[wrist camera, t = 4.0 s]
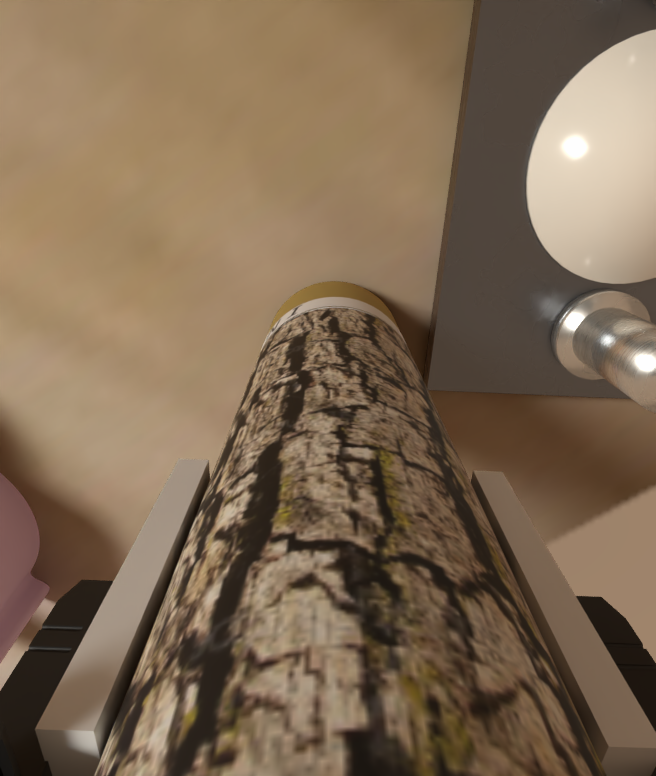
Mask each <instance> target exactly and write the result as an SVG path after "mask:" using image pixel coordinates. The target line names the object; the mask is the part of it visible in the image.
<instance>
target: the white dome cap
mask: <svg viewBox="0 0 656 776" xmlns="http://www.w3.org/2000/svg"><path fill="white" fill-rule="evenodd" d="M526 202H527V210H528V214H529V218H530V222H531V225H532V227H533V229H534V232H535V234H536V236H537V238H538V240H539V241H540V243H541V245H542V246H543V248H544V249H545V250H546V252H547V253H548V254H549V255H550V256H551V258H553V259H554V260H555V261H556V262H557V263H558V264H560V265H561V266H562V267H564V268H565V269H567V270H568V271H570V272H572V273H574V274H576V275H578V276H581V277H583V278H586V279H589V280H593V281H596V282H601V283H610V284H627V283H634V282H641V281H645V280H648V279H652V278H656V30H651V31H648V32H645V33H641V34H638V35H635V36H633V37H631V38H628V39H626V40H624V41H622V42H620V43H618V44H616V45H614V46H612V47H610V48H609V49H607V50H606V51H604V52H602V53H601V54H599V55H598V56H596V57H595V58H594V59H593V60H591V61H590V62H589V63H588V64H586V65H585V66H584V67H583V68H582V69H581V70H580V71H579V72H578V73H577V74H576V75H575V76H574V77H573V78H572V79H571V80H570V81H569V82H568V83H567V84H566V85H565V87H564V88H563V89H562V90H561V92H560V93H559V94H558V95H557V97H556V98H555V100H554V101H553V103H552V105H551V106H550V108H549V109H548V111H547V112H546V114H545V116H544V118H543V120H542V122H541V124H540V126H539V128H538V131H537V134H536V136H535V139H534V142H533V144H532V148H531V152H530V156H529V160H528V165H527V173H526Z"/></svg>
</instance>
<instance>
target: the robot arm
mask: <svg viewBox="0 0 656 776" xmlns="http://www.w3.org/2000/svg"><path fill="white" fill-rule="evenodd" d="M209 481H210V473H209V460H198V459H178V461H177V463H176V465H175V467H174V469H173V471H172V472H171V474H170V476H169V478H168V480H167V482H166V484H165V486H164V487H163V489H162V491H161V493H160V495H159V497H158V499H157V501H156V502H155V504H154V506H153V508H152V510H151V512H150V514H149V516H148V518H147V519H146V521H145V523H144V525H143V527H142V529H141V531H140V533H139V534H138V536H137V538H136V540H135V542H134V544H133V546H132V548H131V549H130V551H129V553H128V555H127V557H126V559H125V561H124V563H123V564H122V566H121V568H120V570H119V572H118V574H117V576H116V578H115V580H114V581H97V580H81V581H80V582H79V583H78V584H77V585H76V586H74V587H73V588H72V589H71V590H70V591H69V592H67V593H66V594H65V595H64V596H63V597H62V598H60V599H59V600H58V602H57V603H56V605H55V606H54V608H53V609H52V611H51V612H50V614H49V616H48V617H47V619H46V620H45V622H44V623H43V625H42V629H41V630H39V631H38V633H37V634H36V636H35V638H34V639H33V641H32V642H31V644H30V645H29V650H28V651H26V652H25V653H24V655H23V656H22V658H21V659H20V661H19V663H18V664H17V666H16V667H15V669H14V670H13V672H12V674H11V675H10V677H9V678H8V680H7V681H6V683H5V684H4V686H3V688H2V689H1V691H0V776H94V775H95V772H96V770H97V767H98V765H99V762H100V760H101V757H102V754H103V752H104V749H105V747H106V744H107V742H108V739H109V737H110V734H111V731H112V729H113V726H114V724H115V721H116V719H117V716H118V714H119V711H120V709H121V706H122V703H123V701H124V698H125V696H126V693H127V691H128V688H129V686H130V683H131V680H132V678H133V675H134V673H135V670H136V668H137V665H138V663H139V660H140V657H141V655H142V652H143V650H144V647H145V645H146V642H147V640H148V637H149V635H150V632H151V629H152V627H153V624H154V622H155V619H156V617H157V614H158V612H159V609H160V606H161V604H162V601H163V599H164V596H165V594H166V591H167V589H168V586H169V583H170V581H171V578H172V576H173V573H174V571H175V568H176V566H177V563H178V561H179V558H180V555H181V553H182V550H183V548H184V545H185V543H186V540H187V538H188V535H189V532H190V530H191V527H192V525H193V522H194V520H195V517H196V515H197V512H198V510H199V507H200V504H201V502H202V499H203V497H204V494H205V492H206V489H207V487H208V484H209ZM471 484H472V487H473V489H474V491H475V493H476V495H477V497H478V500H479V502H480V504H481V506H482V508H483V510H484V512H485V515H486V517H487V519H488V521H489V523H490V525H491V528H492V530H493V532H494V534H495V536H496V538H497V540H498V543H499V545H500V547H501V549H502V551H503V553H504V556H505V558H506V560H507V562H508V564H509V566H510V569H511V571H512V573H513V575H514V577H515V579H516V581H517V584H518V586H519V588H520V590H521V592H522V594H523V597H524V599H525V601H526V603H527V605H528V607H529V609H530V612H531V614H532V616H533V618H534V620H535V622H536V625H537V627H538V629H539V631H540V633H541V635H542V638H543V640H544V642H545V644H546V646H547V648H548V650H549V653H550V655H551V657H552V659H553V661H554V663H555V666H556V668H557V670H558V672H559V674H560V676H561V678H562V681H563V683H564V685H565V687H566V689H567V691H568V694H569V696H570V698H571V700H572V702H573V704H574V707H575V709H576V711H577V713H578V715H579V717H580V719H581V722H582V724H583V726H584V728H585V730H586V732H587V735H588V737H589V739H590V741H591V743H592V745H593V747H594V750H595V752H596V754H597V756H598V758H599V760H600V763H601V765H602V767H603V769H604V771H605V773H606V776H656V663H655V662H654V660H653V658H652V657H651V656H650V654H649V652H648V651H647V650H646V649H643V644H642V642H641V641H640V639H639V638H638V636H637V635H636V633H635V632H634V630H633V629H632V627H631V626H630V624H629V623H628V621H627V620H626V618H624V617H623V616H622V615H621V614H620V613H619V612H618V611H617V610H615V609H614V608H613V607H612V606H611V605H610V604H608V602H606V601H605V600H604V599H603V598H602V597H588V596H575V594H574V592H573V591H572V589H571V588H570V586H569V584H568V582H567V580H566V579H565V577H564V575H563V574H562V572H561V570H560V569H559V568H558V565H557V563H556V562H555V560H554V558H553V557H552V555H551V553H550V552H549V550H548V548H547V546H546V545H545V543H544V541H543V540H542V538H541V536H540V535H539V533H538V531H537V529H536V528H535V526H534V524H533V523H532V521H531V519H530V518H529V516H528V514H527V512H526V511H525V509H524V507H523V506H522V504H521V502H520V501H519V499H518V497H517V495H516V494H515V492H514V490H513V489H512V487H511V485H510V484H509V482H508V480H507V478H506V477H505V475H504V473H503V472H498V471H473V474H472V479H471Z"/></svg>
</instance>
